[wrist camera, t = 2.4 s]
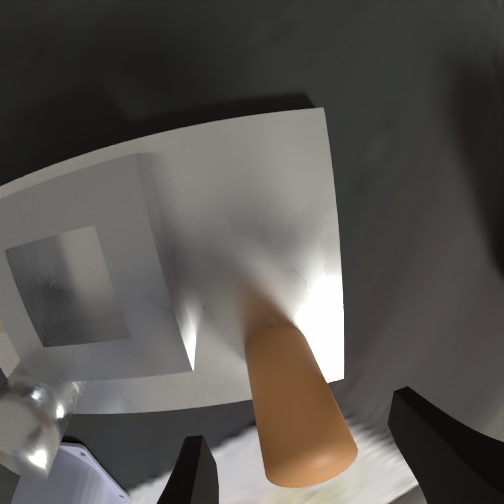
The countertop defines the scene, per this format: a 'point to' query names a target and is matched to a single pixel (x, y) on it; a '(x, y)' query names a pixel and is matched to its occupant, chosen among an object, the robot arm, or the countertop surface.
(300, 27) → the countertop surface
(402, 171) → the countertop surface
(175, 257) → the grey base plate
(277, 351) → the round pin
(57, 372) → the square frame peg fixture
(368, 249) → the countertop surface
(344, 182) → the countertop surface
